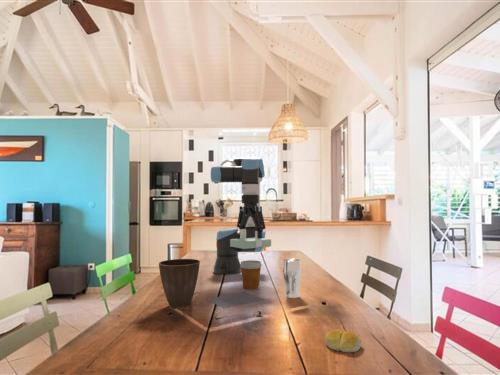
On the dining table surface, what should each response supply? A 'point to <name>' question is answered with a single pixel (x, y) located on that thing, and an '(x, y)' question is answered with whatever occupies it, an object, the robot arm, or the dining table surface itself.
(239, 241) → the board
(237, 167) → the robot arm
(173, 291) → the plant pot
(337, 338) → the bread roll
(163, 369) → the dining table surface
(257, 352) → the dining table surface
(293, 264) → the beer glass
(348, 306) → the dining table surface
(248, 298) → the rubber mat
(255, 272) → the disposable coffee cup
